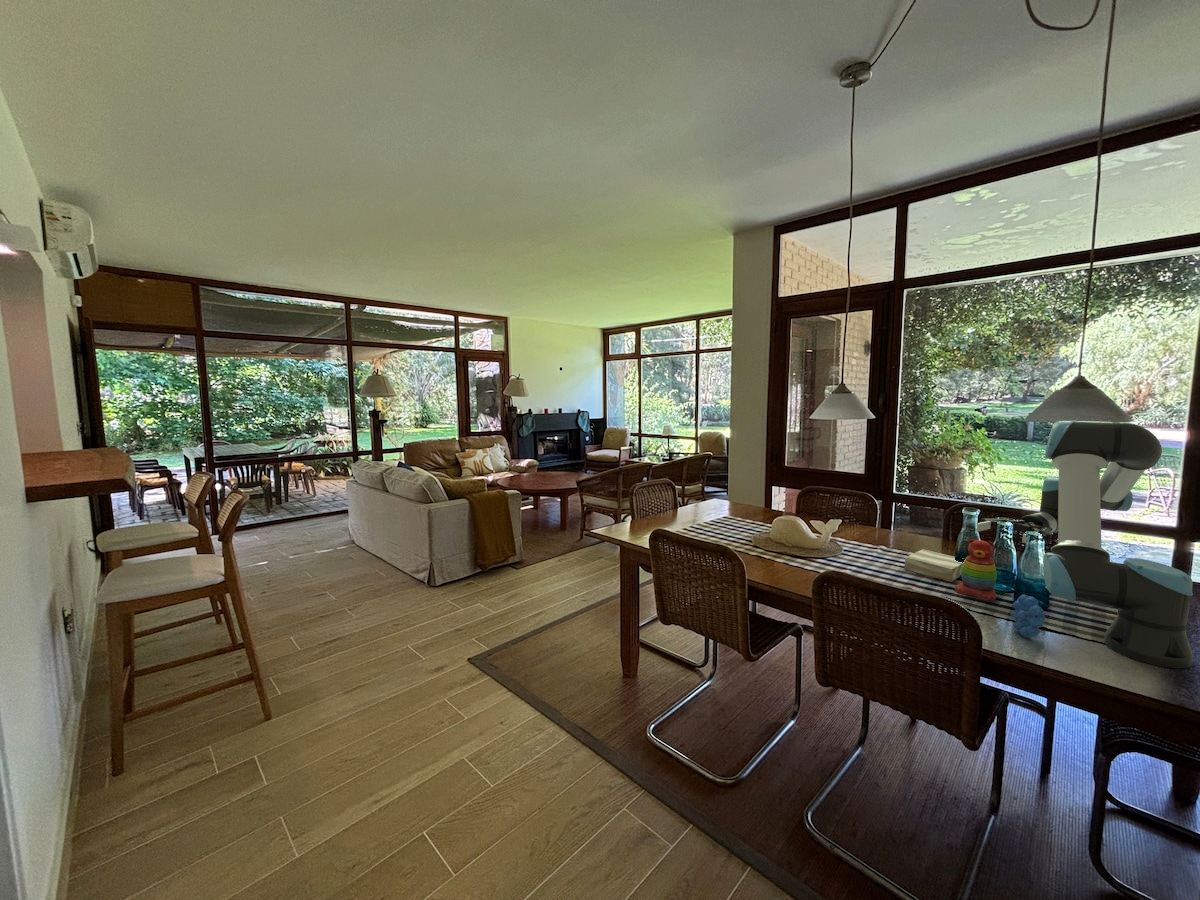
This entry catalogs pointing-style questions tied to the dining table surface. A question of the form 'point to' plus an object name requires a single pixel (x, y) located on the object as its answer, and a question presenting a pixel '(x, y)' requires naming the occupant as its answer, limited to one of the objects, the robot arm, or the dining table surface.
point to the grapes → (1028, 616)
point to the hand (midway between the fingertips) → (999, 532)
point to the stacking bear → (978, 571)
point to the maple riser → (934, 565)
